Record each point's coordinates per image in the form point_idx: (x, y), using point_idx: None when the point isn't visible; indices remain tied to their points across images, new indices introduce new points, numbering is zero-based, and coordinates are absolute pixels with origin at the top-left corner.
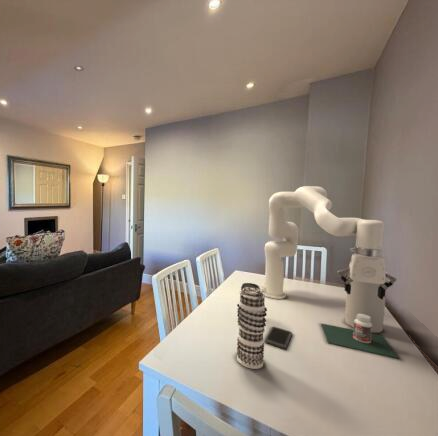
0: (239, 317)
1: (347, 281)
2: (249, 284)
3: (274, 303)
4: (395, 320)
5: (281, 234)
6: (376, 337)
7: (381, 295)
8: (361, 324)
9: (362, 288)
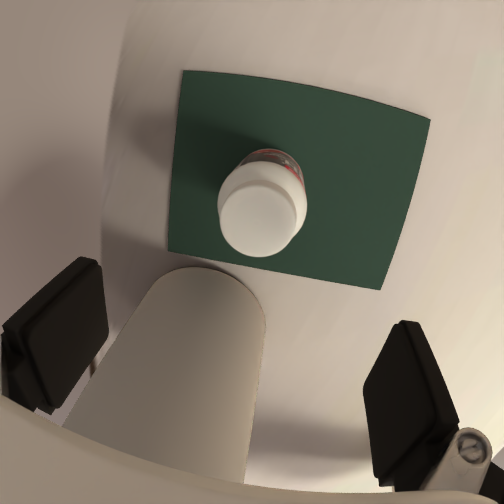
0: None
1: (479, 464)
2: None
3: (453, 396)
4: (97, 365)
5: None
6: (194, 224)
7: (71, 282)
8: (287, 172)
9: (181, 453)
